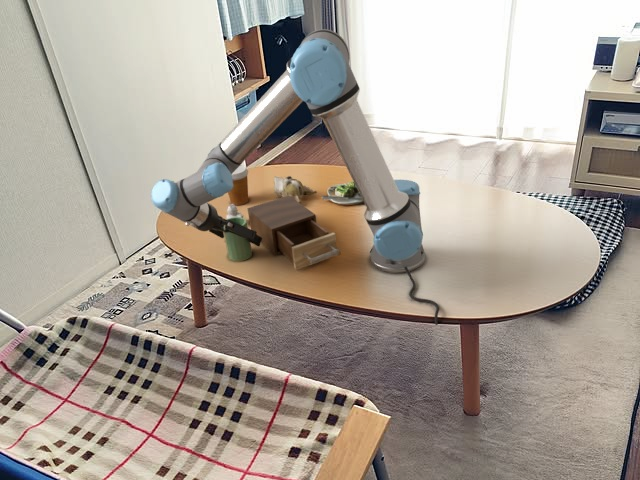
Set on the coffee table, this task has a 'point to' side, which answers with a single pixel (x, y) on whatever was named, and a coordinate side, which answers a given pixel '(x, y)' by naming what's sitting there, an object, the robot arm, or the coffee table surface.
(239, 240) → the pot
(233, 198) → the disposable coffee cup
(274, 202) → the cabinet
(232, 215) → the white animal figurine
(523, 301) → the coffee table surface
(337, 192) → the avocado toast plate
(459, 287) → the coffee table surface
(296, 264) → the drawer
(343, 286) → the coffee table surface
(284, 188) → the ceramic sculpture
